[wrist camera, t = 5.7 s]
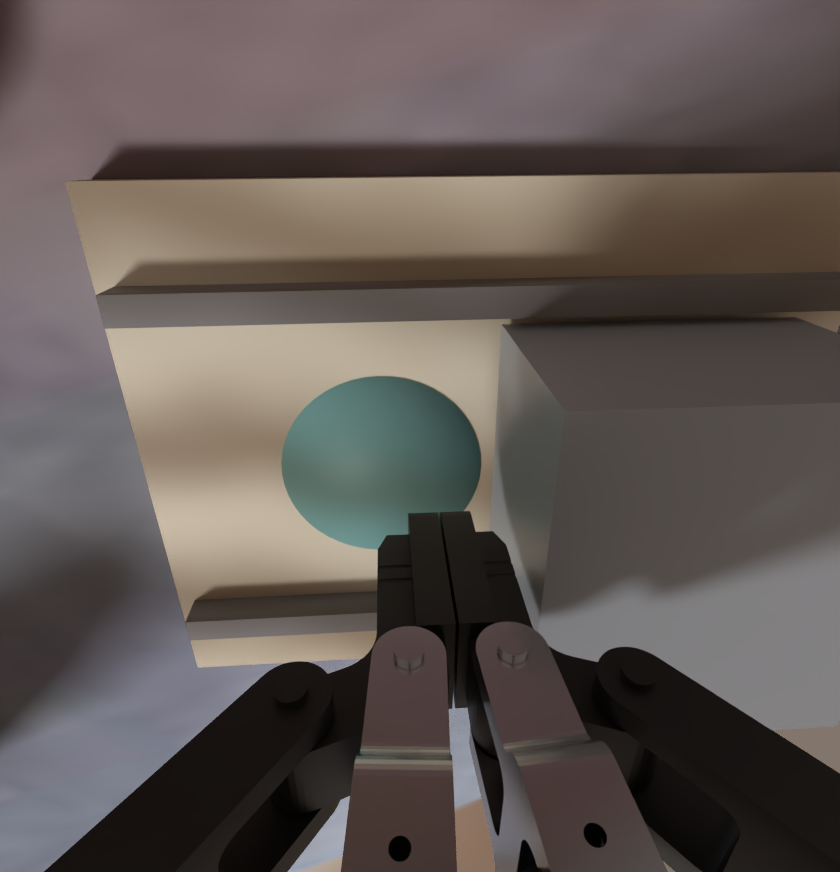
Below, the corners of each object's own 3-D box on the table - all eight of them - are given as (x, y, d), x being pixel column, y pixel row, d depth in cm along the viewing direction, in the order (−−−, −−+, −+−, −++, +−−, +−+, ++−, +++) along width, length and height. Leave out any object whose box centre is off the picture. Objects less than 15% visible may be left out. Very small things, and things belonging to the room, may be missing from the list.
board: (89, 179, 14) (40, 182, 12) (855, 171, 15) (928, 172, 13) (207, 641, 21) (189, 691, 19) (714, 614, 22) (747, 659, 20)
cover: (501, 324, 14) (564, 412, 9) (795, 317, 15) (1005, 397, 10) (485, 587, 18) (524, 746, 13) (716, 575, 19) (836, 726, 14)
